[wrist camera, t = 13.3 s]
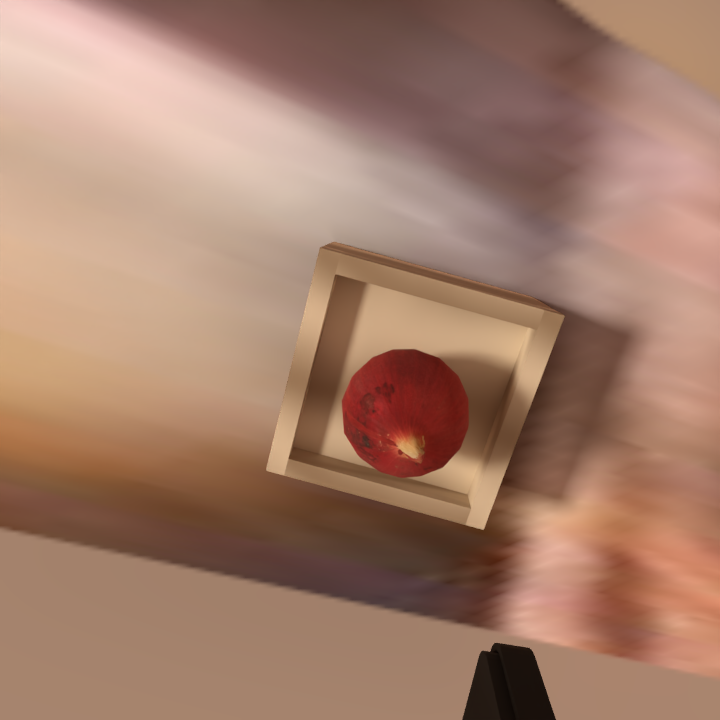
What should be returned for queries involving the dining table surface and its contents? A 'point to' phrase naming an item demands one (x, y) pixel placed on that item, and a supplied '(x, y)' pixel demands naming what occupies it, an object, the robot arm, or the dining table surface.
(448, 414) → the onion
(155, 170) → the dining table surface
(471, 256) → the dining table surface
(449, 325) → the beige square hollow tray
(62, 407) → the dining table surface
